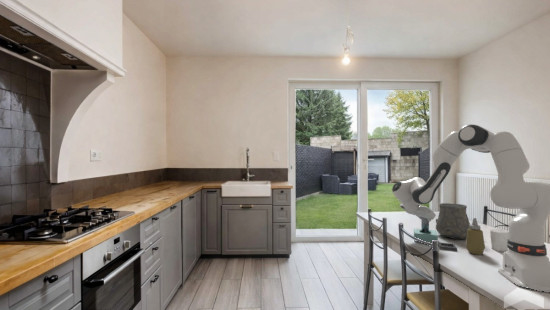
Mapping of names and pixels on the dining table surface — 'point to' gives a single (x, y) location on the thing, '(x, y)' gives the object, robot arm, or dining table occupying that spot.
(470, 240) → the squeeze bottle
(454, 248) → the mount collar
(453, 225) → the vessel
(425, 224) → the spigot
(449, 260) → the dining table surface
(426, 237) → the socket block
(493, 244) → the white cup
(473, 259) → the dining table surface
